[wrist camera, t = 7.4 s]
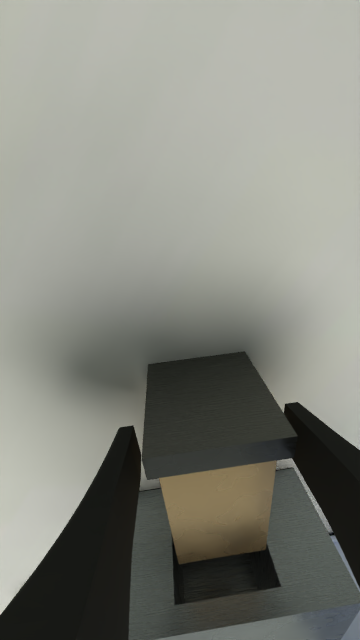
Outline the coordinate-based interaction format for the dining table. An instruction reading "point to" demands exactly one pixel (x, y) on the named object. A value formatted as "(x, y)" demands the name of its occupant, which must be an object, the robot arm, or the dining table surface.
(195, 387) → the sliding drawer
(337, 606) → the housing
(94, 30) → the dining table surface
